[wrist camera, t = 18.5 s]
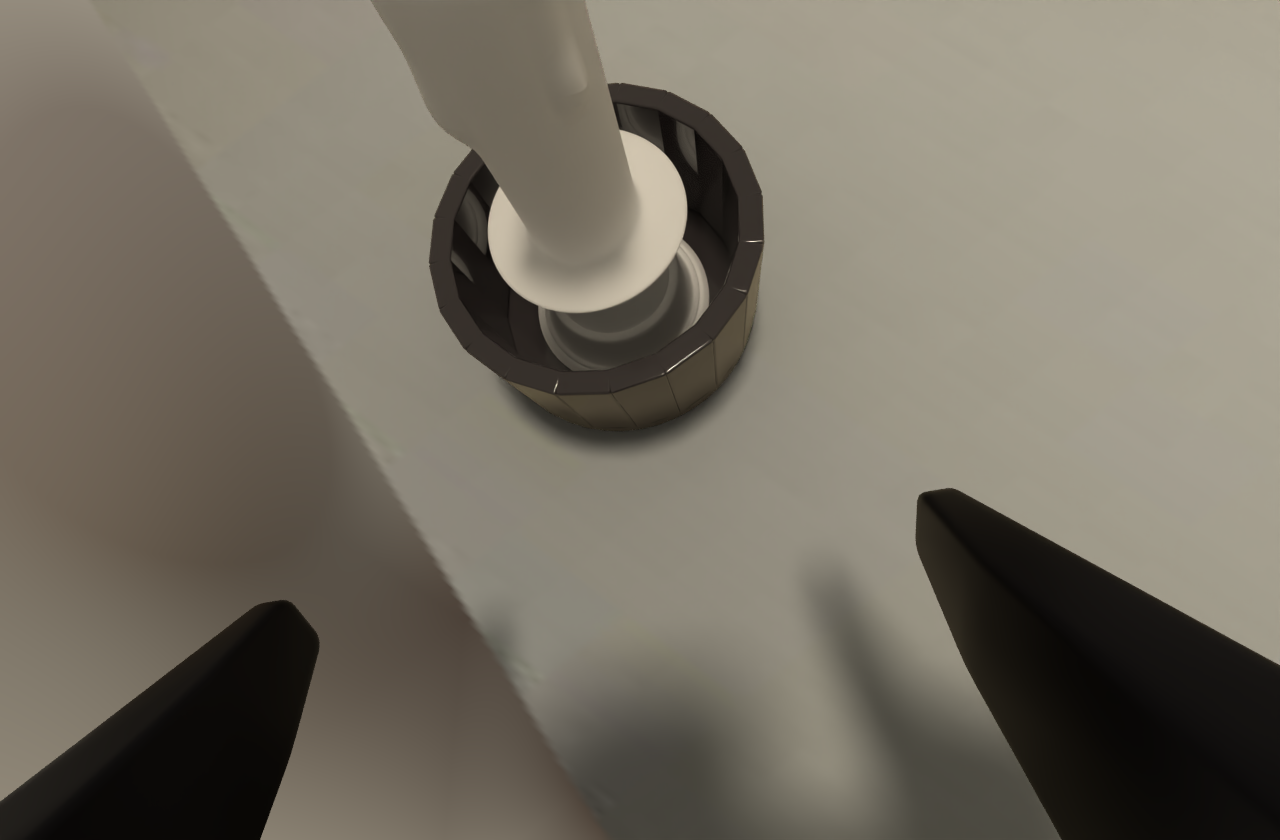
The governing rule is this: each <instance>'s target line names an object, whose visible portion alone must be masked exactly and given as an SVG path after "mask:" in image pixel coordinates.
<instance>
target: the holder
mask: <svg viewBox="0 0 1280 840" xmlns="http://www.w3.org/2000/svg"><path fill="white" fill-rule="evenodd" d="M607 85H608V89H609V93H610V97H611V100H612V104H613V108H614V112H615V115H616V119H617V123H618V127H619V130H623V131H626V132H630V133H632V134H635V135H638V136H640V137H642V138H644V139H646V140H647V141H649V142H651V143H652V144H654V145H655V146H656V147H658V148H659V149H660V150H661V151H662V152H663V153H664V154H665V155H666V156H667V157H668V158H669V159H670V161H671V162H672V163H673V165H674V166H675V168H676V170H677V171H678V173H679V175H680V177H681V180H682V182H683V185H684V189H685V193H686V199H687V221H686V227H685V232H684V235H683V239H682V240H684V241H685V242H686V243H687V244H688V245H689V246H690V247H691V248H692V250H693V251H694V252H695V253H696V255H697V256H698V258H699V260H700V262H701V263H702V266H703V268H704V270H705V273H706V277H707V281H708V286H709V306H708V308H707V309H706V310H705V312H704V313H703V314H702V316H701V317H700V318H699V320H698V321H697V322H696V324H695V325H694V326H692V327H691V328H689V329H688V330H687V331H685V332H684V333H683V334H681V335H680V336H678V337H677V338H676V339H674V340H673V341H672V342H670V343H669V344H667V345H666V346H665V347H663V348H662V349H661V350H659V351H658V352H656V353H654V354H651V355H649V356H646V357H643V358H640V359H637V360H634V361H631V362H628V363H625V364H622V365H620V366H617V367H614V368H611V369H608V370H582V371H572V370H571V369H569V368H568V367H567V366H565V365H564V364H563V363H562V362H561V361H560V360H559V359H558V358H557V357H556V356H555V355H554V353H553V352H552V351H551V349H550V347H549V346H548V344H547V342H546V340H545V338H544V336H543V333H542V330H541V326H540V321H539V313H538V305H535V304H533V303H531V302H529V301H528V300H526V299H524V298H523V297H522V296H520V295H519V294H518V293H516V292H515V291H514V290H513V289H512V288H511V287H510V286H509V285H508V284H507V283H506V282H505V280H504V279H503V278H502V276H501V275H500V273H499V271H498V270H497V268H496V266H495V263H494V261H493V258H492V255H491V252H490V248H489V242H488V220H489V214H490V209H491V206H492V202H493V200H494V197H495V195H496V192H497V190H498V188H499V185H498V183H497V182H496V180H495V178H494V177H493V175H492V174H491V172H490V171H489V169H488V167H487V166H486V164H485V163H484V161H483V160H482V158H481V157H480V156H479V155H478V154H477V153H476V152H475V151H474V150H473V149H472V150H471V151H470V153H469V154H468V155H467V156H466V157H465V159H464V160H463V161H462V162H461V164H460V165H459V166H458V167H457V169H456V170H455V171H454V174H453V175H452V176H451V178H450V181H449V183H448V185H447V188H446V190H445V192H444V195H443V197H442V199H441V202H440V204H439V206H438V208H437V211H436V213H435V218H434V220H433V229H432V238H431V248H430V257H429V263H430V266H429V267H430V272H431V276H432V280H433V285H434V289H435V293H436V298H437V302H438V306H439V309H440V313H441V314H442V316H443V317H444V319H445V320H446V322H447V324H448V325H449V327H450V328H451V330H452V331H453V333H454V334H455V336H456V337H457V339H458V340H459V342H460V344H461V345H462V347H463V348H464V349H465V350H466V351H467V352H468V353H469V354H470V355H472V356H473V357H474V358H476V359H477V360H478V361H480V362H481V363H483V364H484V365H485V366H487V367H488V368H489V369H491V370H492V371H493V372H495V373H496V374H497V375H499V376H500V377H501V378H503V379H504V380H505V381H507V382H508V383H510V384H511V385H512V386H514V387H515V388H516V389H518V390H519V391H520V392H522V393H523V394H525V395H526V396H527V397H529V398H530V399H531V400H533V401H534V402H536V403H537V404H538V405H540V406H541V407H542V408H544V409H545V410H546V411H548V412H549V413H551V414H553V415H554V416H557V417H559V418H561V419H563V420H566V421H568V422H570V423H572V424H576V425H579V426H582V427H586V428H590V429H596V430H603V431H630V430H639V429H644V428H648V427H652V426H657V425H660V424H662V423H665V422H668V421H670V420H673V419H675V418H677V417H679V416H681V415H683V414H685V413H687V412H688V411H690V410H692V409H693V408H695V407H696V406H697V405H699V404H700V403H702V402H703V401H705V400H706V399H707V398H708V397H709V396H710V395H711V394H712V393H713V392H715V391H716V390H717V389H718V388H719V387H720V386H721V384H722V383H723V382H724V381H725V380H726V378H727V377H728V376H729V375H730V374H731V372H732V370H733V369H734V367H735V366H736V364H737V363H738V361H739V359H740V357H741V355H742V353H743V351H744V349H745V347H746V344H747V342H748V338H749V335H750V332H751V329H752V324H753V319H754V316H755V312H756V307H757V298H758V290H759V282H760V273H761V265H762V256H763V248H764V219H763V196H762V194H761V193H762V191H761V189H760V186H759V184H758V181H757V179H756V177H755V174H754V172H753V169H752V167H751V165H750V162H749V160H748V157H747V155H746V153H745V151H744V149H743V148H742V146H741V145H740V144H739V143H738V142H737V141H736V140H735V138H734V137H733V136H732V135H731V134H730V133H729V132H728V131H727V130H726V129H725V128H724V127H723V126H722V125H721V124H720V122H719V121H718V120H717V119H716V118H715V117H714V116H713V115H712V114H710V113H709V112H708V111H706V110H704V109H702V108H700V107H698V106H696V105H694V104H692V103H690V102H689V101H687V100H685V99H683V98H681V97H679V96H677V95H675V94H673V93H671V92H667V91H666V90H660V89H655V88H649V87H643V86H637V85H632V84H626V83H621V84H619V83H611V84H607Z"/></svg>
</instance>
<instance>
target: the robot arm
mask: <svg viewBox="0 0 1280 840" xmlns="http://www.w3.org/2000/svg"><path fill="white" fill-rule="evenodd" d="M916 546H917V550H918V554H919V557H920V559H921V561H922V564H923V566H924V569H925V571H926V573H927V576H928V578H929V581H930V583H931V585H932V588H933V590H934V592H935V595H936V597H937V600H938V602H939V604H940V607H941V609H942V612H943V614H944V616H945V619H946V621H947V623H948V626H949V628H950V631H951V633H952V635H953V638H954V640H955V642H956V645H957V647H958V649H959V652H960V654H961V656H962V658H963V661H964V663H965V665H966V667H967V669H968V671H969V673H970V675H971V677H972V679H973V681H974V682H975V684H976V686H977V688H978V690H979V692H980V693H981V695H982V697H983V699H984V701H985V702H986V704H987V706H988V708H989V710H990V711H991V713H992V715H993V717H994V719H995V720H996V722H997V724H998V726H999V728H1000V729H1001V731H1002V733H1003V735H1004V737H1005V738H1006V740H1007V742H1008V744H1009V746H1010V747H1011V749H1012V751H1013V753H1014V755H1015V756H1016V758H1017V760H1018V762H1019V764H1020V765H1021V767H1022V769H1023V771H1024V773H1025V774H1026V776H1027V778H1028V780H1029V782H1030V783H1031V785H1032V787H1033V789H1034V791H1035V792H1036V794H1037V796H1038V798H1039V800H1040V801H1041V803H1042V805H1043V807H1044V809H1045V810H1046V812H1047V814H1048V816H1049V818H1050V819H1051V821H1052V823H1053V825H1054V827H1055V828H1056V830H1057V832H1058V834H1059V836H1060V837H1061V839H1062V840H1280V665H1278V664H1276V663H1274V662H1273V661H1271V660H1269V659H1267V658H1265V657H1263V656H1262V655H1260V654H1258V653H1256V652H1254V651H1252V650H1251V649H1249V648H1247V647H1245V646H1243V645H1241V644H1240V643H1238V642H1236V641H1234V640H1232V639H1230V638H1229V637H1227V636H1225V635H1223V634H1221V633H1219V632H1218V631H1216V630H1214V629H1212V628H1210V627H1208V626H1207V625H1205V624H1203V623H1201V622H1199V621H1197V620H1195V619H1194V618H1192V617H1190V616H1188V615H1186V614H1184V613H1183V612H1181V611H1179V610H1177V609H1175V608H1173V607H1172V606H1170V605H1168V604H1166V603H1164V602H1162V601H1161V600H1159V599H1157V598H1155V597H1153V596H1151V595H1150V594H1148V593H1146V592H1144V591H1142V590H1140V589H1139V588H1137V587H1135V586H1133V585H1131V584H1129V583H1128V582H1126V581H1124V580H1122V579H1120V578H1118V577H1117V576H1115V575H1113V574H1111V573H1109V572H1107V571H1106V570H1104V569H1102V568H1100V567H1098V566H1096V565H1095V564H1093V563H1091V562H1089V561H1087V560H1085V559H1084V558H1082V557H1080V556H1078V555H1076V554H1074V553H1072V552H1071V551H1069V550H1067V549H1065V548H1063V547H1061V546H1060V545H1058V544H1056V543H1054V542H1052V541H1050V540H1049V539H1047V538H1045V537H1043V536H1041V535H1039V534H1038V533H1036V532H1034V531H1032V530H1030V529H1028V528H1027V527H1025V526H1023V525H1021V524H1019V523H1017V522H1016V521H1014V520H1012V519H1010V518H1008V517H1006V516H1005V515H1003V514H1001V513H999V512H997V511H995V510H994V509H992V508H990V507H988V506H986V505H984V504H983V503H981V502H979V501H977V500H975V499H973V498H972V497H970V496H968V495H966V494H964V493H962V492H960V491H958V490H956V489H953V488H946V489H940V490H934V491H928V492H924V493H922V494H920V495H919V497H918V500H917V517H916ZM318 652H319V638H318V635H317V633H316V631H315V630H314V629H313V628H312V627H311V625H310V624H309V623H308V621H307V620H306V619H305V618H304V616H303V615H302V614H301V613H300V612H299V610H298V609H297V608H296V607H295V605H293V604H292V603H291V602H289V601H287V600H279V601H273V602H267V603H262V604H259V605H257V606H255V607H253V608H252V609H251V610H249V611H248V612H246V613H245V614H244V615H243V616H241V617H240V618H239V619H237V620H236V621H235V622H233V623H232V624H231V625H230V626H229V627H227V628H226V629H224V630H223V631H222V632H220V633H219V634H218V635H217V636H216V637H214V638H213V639H211V640H210V641H209V642H208V643H206V644H205V645H204V646H202V647H201V648H200V649H199V650H197V651H196V652H195V653H193V654H192V655H190V656H189V657H188V658H187V659H185V660H184V661H183V662H182V663H180V664H179V665H177V666H176V667H175V668H174V669H172V670H171V671H170V672H168V673H167V674H166V675H164V676H163V677H162V678H161V679H159V680H158V681H157V682H155V683H154V684H153V685H152V686H150V687H149V688H148V689H146V690H145V691H144V692H142V693H141V694H140V695H138V696H137V697H136V698H135V699H133V700H132V701H131V702H129V703H128V704H127V705H125V706H124V707H123V708H121V709H120V710H119V711H118V712H116V713H115V714H114V715H112V716H111V717H110V718H108V719H107V720H106V721H105V722H103V723H102V724H101V725H99V726H98V727H97V728H96V729H94V730H93V731H92V732H90V733H89V734H88V735H86V736H85V737H84V738H82V739H81V740H80V741H78V742H77V743H76V744H75V745H73V746H72V747H71V748H69V749H68V750H67V751H65V753H63V754H62V755H60V756H59V757H58V758H56V759H55V760H54V761H52V762H51V763H50V764H49V765H47V766H46V767H45V768H43V769H42V770H41V771H40V772H38V773H37V774H36V775H34V776H33V777H32V778H30V779H29V780H28V781H26V782H25V783H24V784H23V785H21V786H20V787H19V788H17V789H16V790H15V791H13V792H12V793H11V794H10V795H8V796H7V797H6V798H4V799H3V800H2V801H0V840H260V838H261V835H262V833H263V830H264V827H265V824H266V822H267V819H268V816H269V813H270V810H271V808H272V805H273V802H274V800H275V797H276V794H277V792H278V789H279V786H280V784H281V781H282V777H283V775H284V772H285V769H286V766H287V764H288V760H289V758H290V755H291V751H292V748H293V744H294V741H295V738H296V734H297V730H298V727H299V723H300V719H301V715H302V712H303V708H304V704H305V701H306V697H307V693H308V689H309V686H310V682H311V678H312V675H313V670H314V667H315V663H316V660H317V655H318Z"/></svg>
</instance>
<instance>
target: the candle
mask: <svg viewBox="0 0 1280 840" xmlns="http://www.w3.org/2000/svg"><path fill="white" fill-rule="evenodd" d="M371 1H372V3H373V5H374V7H375V8H376V10H377V12H378V13H379V15H380V17H381V18H382V20H383V22H384V23H385V25H386V26H387V28H388V29H389V31H390V33H391V34H392V36H393V37H394V39H395V41H396V42H397V44H398V46H399V47H400V49H401V51H402V53H403V55H404V57H405V58H406V61H407V63H408V65H409V67H410V69H411V72H412V74H413V76H414V79H415V81H416V84H417V86H418V88H419V91H420V93H421V95H422V98H423V100H424V102H425V104H426V106H427V108H428V110H429V112H430V114H431V115H432V117H433V118H434V120H435V121H436V122H437V123H438V125H439V126H440V127H441V128H443V129H444V130H445V131H446V132H447V133H448V134H450V135H451V136H453V137H454V138H456V139H457V140H459V141H460V142H462V143H464V144H466V145H467V146H469V147H470V148H472V149H473V150H474V151H475V152H476V153H477V154H478V155H479V156H480V157H481V158H482V160H483V161H484V163H485V164H486V166H487V167H488V169H489V171H490V172H491V174H492V175H493V177H494V178H495V180H496V182H497V183H498V185H499V188H498V190H497V192H496V195H495V197H494V200H493V202H492V206H491V209H490V214H489V220H488V242H489V248H490V252H491V255H492V258H493V261H494V263H495V266H496V268H497V270H498V271H499V273H500V275H501V276H502V278H503V279H504V280H505V282H506V283H507V284H508V285H509V286H510V287H511V288H512V289H513V290H514V291H515V292H516V293H518V294H519V295H520V296H522V297H523V298H524V299H526V300H528V301H529V302H531V303H533V304H535V305H538V313H539V321H540V326H541V330H542V333H543V336H544V338H545V340H546V342H547V344H548V346H549V347H550V349H551V351H552V352H553V353H554V355H555V356H556V357H557V358H558V359H559V360H560V361H561V362H562V363H563V364H564V365H565V366H567V367H568V368H569V369H571V370H572V371H582V370H608V369H611V368H614V367H617V366H620V365H622V364H625V363H628V362H631V361H634V360H637V359H640V358H643V357H646V356H649V355H651V354H654V353H656V352H658V351H659V350H661V349H662V348H663V347H665V346H666V345H667V344H669V343H670V342H672V341H673V340H674V339H676V338H677V337H678V336H680V335H681V334H683V333H684V332H685V331H687V330H688V329H689V328H691V327H692V326H694V325H695V324H696V322H697V321H698V320H699V318H700V317H701V316H702V314H703V313H704V312H705V310H706V309H707V308H708V306H709V286H708V281H707V277H706V273H705V270H704V268H703V266H702V263H701V262H700V260H699V258H698V256H697V255H696V253H695V252H694V251H693V250H692V248H691V247H690V246H689V245H688V244H687V243H686V242H685V241H684V240H682V239H683V235H684V232H685V227H686V221H687V199H686V193H685V189H684V185H683V182H682V180H681V177H680V175H679V173H678V171H677V170H676V168H675V166H674V165H673V163H672V162H671V161H670V159H669V158H668V157H667V156H666V155H665V154H664V153H663V152H662V151H661V150H660V149H659V148H658V147H656V146H655V145H654V144H652V143H651V142H649V141H647V140H646V139H644V138H642V137H640V136H638V135H635V134H632V133H630V132H626V131H623V130H619V127H618V123H617V119H616V115H615V112H614V108H613V104H612V100H611V97H610V93H609V89H608V85H607V81H606V78H605V74H604V70H603V66H602V62H601V59H600V55H599V51H598V47H597V44H596V40H595V36H594V32H593V29H592V25H591V21H590V18H589V14H588V10H587V6H586V3H585V0H371Z"/></svg>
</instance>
